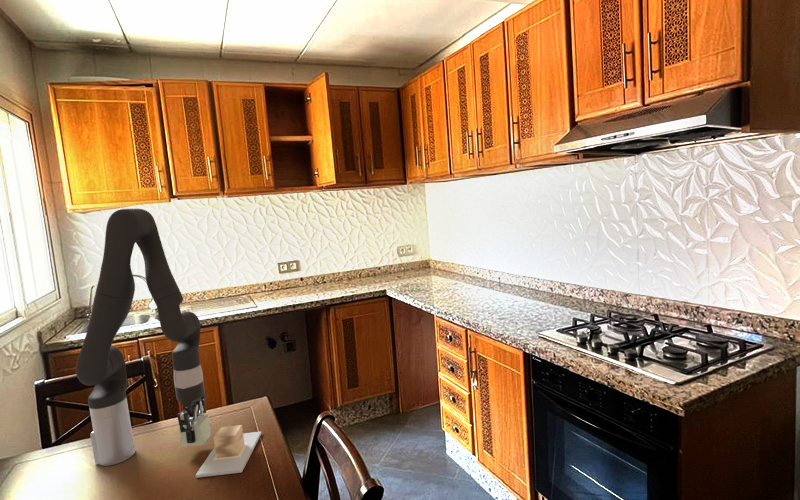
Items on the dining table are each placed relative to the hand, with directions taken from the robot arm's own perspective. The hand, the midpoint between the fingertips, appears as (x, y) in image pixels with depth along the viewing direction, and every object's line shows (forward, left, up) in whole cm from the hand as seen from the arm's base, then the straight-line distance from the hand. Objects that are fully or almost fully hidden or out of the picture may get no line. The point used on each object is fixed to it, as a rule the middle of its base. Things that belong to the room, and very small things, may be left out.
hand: (196, 436), depth 131 cm
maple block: (+11, -4, -4) cm, 12 cm away
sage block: (0, 0, -1) cm, 1 cm away
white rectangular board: (+11, -4, -4) cm, 12 cm away
